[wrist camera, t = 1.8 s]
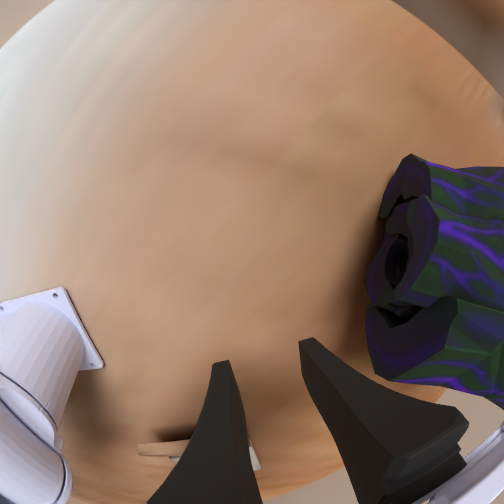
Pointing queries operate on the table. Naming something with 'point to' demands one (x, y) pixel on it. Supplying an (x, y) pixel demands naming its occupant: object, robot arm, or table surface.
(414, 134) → the table surface
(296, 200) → the table surface
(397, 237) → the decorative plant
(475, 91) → the table surface
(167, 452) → the plank
